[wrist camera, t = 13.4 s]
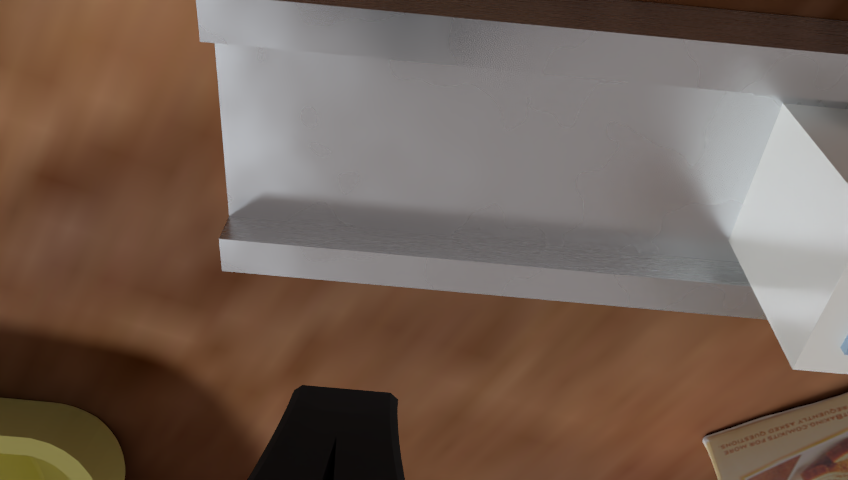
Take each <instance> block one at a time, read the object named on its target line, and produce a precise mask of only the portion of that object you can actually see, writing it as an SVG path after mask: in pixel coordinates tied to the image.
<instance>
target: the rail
mask: <svg viewBox="0 0 848 480" xmlns="http://www.w3.org/2000/svg"><path fill="white" fill-rule="evenodd" d="M196 5H197V15H198V26H199V36H200V42H210V43H215V53H216V65H217V77H218V89H219V101H220V112H221V124H222V136H223V148H224V160H225V172H226V184H227V195H228V207H229V218H228V220H227V222H226V224H225V226H224V229H223V231H222V233H221V235H220V238H219V245H220V255H221V265H222V271H229V272H240V273H251V274H262V275H274V276H285V277H296V278H307V279H319V280H330V281H341V282H352V283H363V284H375V285H386V286H397V287H408V288H419V289H431V290H442V291H453V292H464V293H476V294H487V295H498V296H509V297H520V298H532V299H543V300H554V301H565V302H576V303H588V304H599V305H610V306H621V307H633V308H644V309H655V310H666V311H677V312H689V313H700V314H711V315H722V316H734V317H745V318H756V319H767V317H766V315H765V313H764V311H763V309H762V307H761V305H760V303H759V301H758V299H757V297H756V295H755V293H754V291H753V289H752V287H751V285H750V283H749V281H748V279H747V277H746V275H745V273H744V271H743V269H742V267H741V265H740V263H739V261H738V259H737V257H736V255H735V253H734V251H733V249H732V247H731V245H730V243H729V241H728V240H729V238H730V235H731V233H732V230H733V228H734V225H735V223H736V220H737V218H738V215H739V213H740V210H741V208H742V205H743V203H744V200H745V198H746V195H747V193H748V190H749V187H750V185H751V182H752V180H753V177H754V175H755V172H756V170H757V167H758V165H759V162H760V160H761V157H762V155H763V152H764V150H765V147H766V145H767V142H768V139H769V137H770V134H771V132H772V129H773V127H774V124H775V122H776V119H777V117H778V114H779V112H780V109H781V107H782V104H783V103H786V104H797V105H807V106H818V107H829V108H839V109H848V21H840V20H830V19H819V18H809V17H798V16H788V15H777V14H767V13H757V12H746V11H736V10H725V9H715V8H704V7H694V6H683V5H673V4H662V3H652V2H642V1H631V0H196ZM767 320H768V319H767Z"/></svg>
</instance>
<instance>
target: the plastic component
mask: <svg viewBox="0 0 848 480" xmlns="http://www.w3.org/2000/svg"><path fill="white" fill-rule="evenodd" d="M0 480H125V462H124V456H123V453H122V450H121V447H120V445H119V443H118V441H117V439H116V437H115V436H114V434H113V433H112V431H111V430H110V429H109V428H108V427H107V426H106V425H105V424H104V423H103V422H102V421H101V420H100V419H98V418H97V417H96V416H94V415H92V414H90V413H88V412H86V411H84V410H82V409H79V408H76V407H73V406H70V405H66V404H61V403H54V402H44V401H33V400H22V399H11V398H0Z"/></svg>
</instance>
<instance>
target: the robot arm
mask: <svg viewBox="0 0 848 480" xmlns="http://www.w3.org/2000/svg"><path fill="white" fill-rule="evenodd" d="M397 405H398V399H397V398H395V397H394V396H393V395H392V394H391V393H386V392H374V391H363V390H351V389H340V388H328V387H317V386H305V385H302V386H300V387H299V388H297V389H296V390H294V392H293V394H292V397H291V399H290V402H289V404H288V406H287V408H286V410H285V412H284V414H283V417H282V419H281V421H280V423H279V425H278V427H277V429H276V430H275V432H274V434H273V436H272V438H271V440H270V442H269V443H268V445H267V447H266V449H265V450H264V452H263V454H262V456H261V457H260V459H259V461H258V463H257V464H256V466H255V468H254V470H253V471H252V473H251V475H250V476H249V478H248V479H247V480H405V478H404V472H403V466H402V460H401V453H400V445H399V435H398V419H397Z"/></svg>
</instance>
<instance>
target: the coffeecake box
mask: <svg viewBox="0 0 848 480" xmlns="http://www.w3.org/2000/svg"><path fill="white" fill-rule="evenodd" d="M702 442H703V443H704V445H705V447H706V449H707V451H708V453H709V456H710V458H711V461H712V463H713V466H714V469H715V472H716V475H717V478H718V480H848V392H847V393H844V394H842V395H839V396H835V397H831V398H828V399H825V400H822V401H818V402H815V403H812V404H808V405H804V406H801V407H797V408H793V409H790V410H786V411H783V412H780V413H776V414H772V415H768V416H764V417H761V418H758V419H755V420H752V421H749V422H746V423H743V424H741V425H738V426H735V427H732V428H729V429H726V430H723V431H720V432H717V433H713V434H710V435H707V436H704V438H703V441H702Z"/></svg>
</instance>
